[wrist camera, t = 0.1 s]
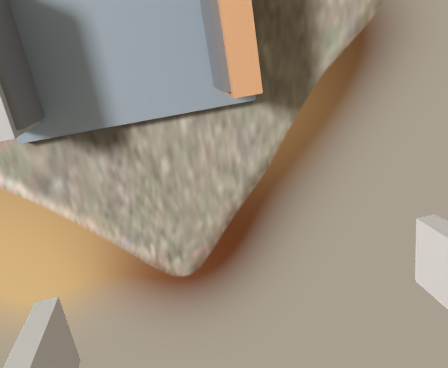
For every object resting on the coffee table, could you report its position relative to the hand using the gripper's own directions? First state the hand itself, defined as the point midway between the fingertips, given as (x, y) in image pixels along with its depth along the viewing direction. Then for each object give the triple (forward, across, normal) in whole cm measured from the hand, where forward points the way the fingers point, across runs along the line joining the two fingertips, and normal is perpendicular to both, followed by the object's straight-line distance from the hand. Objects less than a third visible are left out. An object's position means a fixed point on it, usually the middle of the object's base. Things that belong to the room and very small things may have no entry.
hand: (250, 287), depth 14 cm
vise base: (+28, -4, +10) cm, 30 cm away
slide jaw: (+27, +5, +10) cm, 29 cm away
